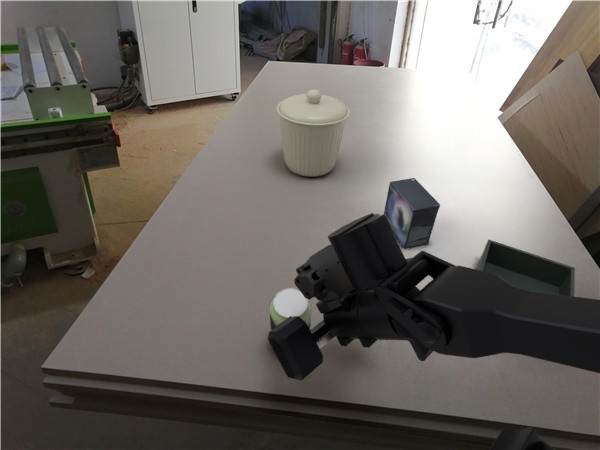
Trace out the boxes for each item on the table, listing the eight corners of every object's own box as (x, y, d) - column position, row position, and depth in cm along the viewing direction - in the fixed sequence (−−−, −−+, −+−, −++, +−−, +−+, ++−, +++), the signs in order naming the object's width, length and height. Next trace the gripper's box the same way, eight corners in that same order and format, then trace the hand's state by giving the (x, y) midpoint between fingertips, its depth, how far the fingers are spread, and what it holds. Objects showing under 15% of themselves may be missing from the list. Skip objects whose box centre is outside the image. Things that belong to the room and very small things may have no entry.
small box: (380, 219, 92) (387, 180, 86) (405, 215, 94) (414, 176, 87) (402, 249, 84) (413, 208, 78) (429, 244, 86) (442, 204, 80)
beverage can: (307, 326, 68) (311, 276, 60) (311, 366, 62) (316, 315, 55) (269, 327, 67) (269, 277, 60) (270, 367, 62) (269, 316, 54)
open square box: (557, 356, 65) (573, 334, 62) (461, 317, 71) (471, 295, 67) (561, 288, 77) (575, 267, 74) (479, 260, 83) (488, 239, 79)
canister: (327, 147, 119) (333, 75, 106) (354, 179, 106) (365, 100, 93) (268, 156, 114) (267, 80, 101) (288, 189, 100) (290, 108, 87)
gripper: (395, 214, 49) (323, 238, 62) (279, 289, 39) (222, 299, 52) (435, 295, 50) (355, 302, 63) (331, 390, 39) (261, 375, 52)
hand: (303, 316), depth 57 cm, fingers open, 9 cm apart
